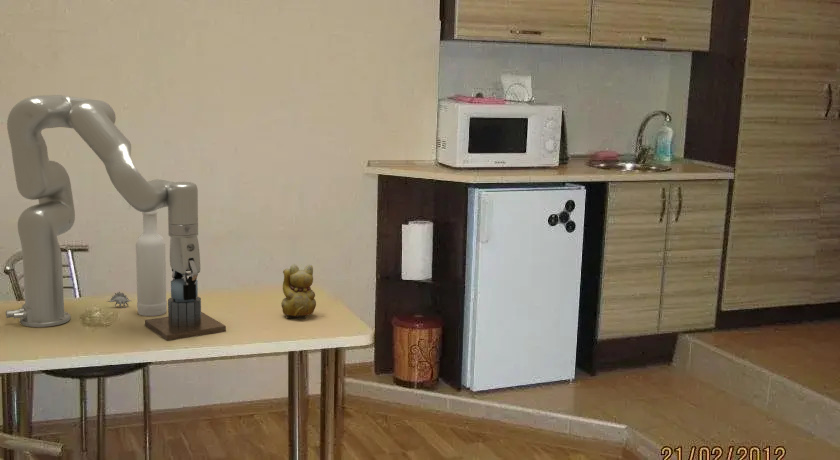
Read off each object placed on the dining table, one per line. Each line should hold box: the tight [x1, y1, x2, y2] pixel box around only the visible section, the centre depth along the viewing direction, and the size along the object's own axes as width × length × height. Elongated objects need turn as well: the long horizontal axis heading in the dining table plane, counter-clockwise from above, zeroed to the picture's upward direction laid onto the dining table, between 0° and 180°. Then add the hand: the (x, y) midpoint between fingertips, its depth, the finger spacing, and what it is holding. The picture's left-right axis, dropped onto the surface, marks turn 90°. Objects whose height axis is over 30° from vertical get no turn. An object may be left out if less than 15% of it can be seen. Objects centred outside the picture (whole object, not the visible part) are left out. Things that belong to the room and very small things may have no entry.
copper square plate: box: [144, 295, 227, 342], centre depth 231 cm, size 16×16×8 cm
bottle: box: [135, 209, 168, 317], centre depth 242 cm, size 8×8×30 cm
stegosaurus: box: [106, 291, 132, 309], centre depth 249 cm, size 2×7×5 cm, turn 115°
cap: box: [170, 277, 199, 302], centre depth 230 cm, size 7×7×8 cm
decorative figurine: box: [281, 263, 317, 320], centre depth 244 cm, size 10×8×15 cm
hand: (184, 295), depth 230 cm, fingers closed on cap, 6 cm apart
